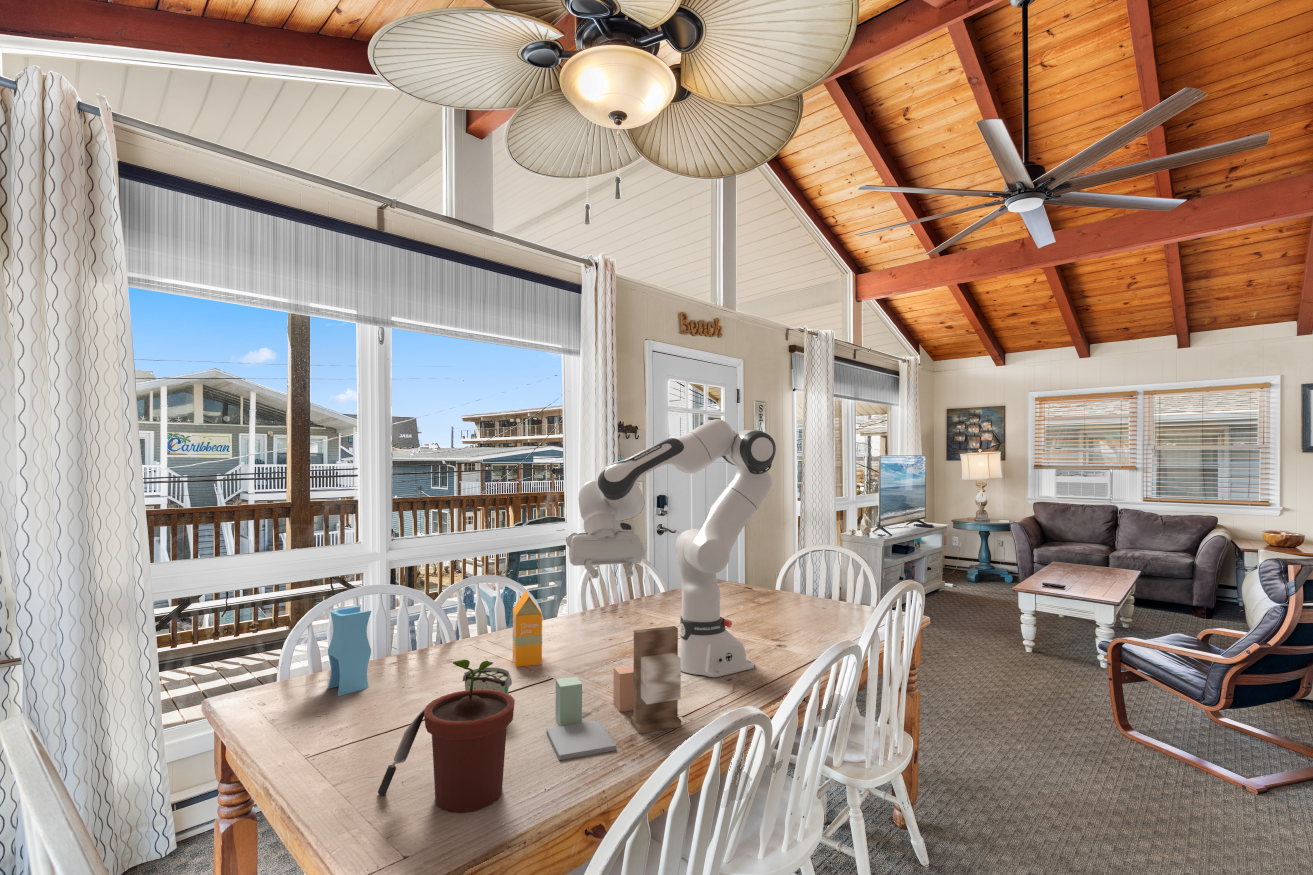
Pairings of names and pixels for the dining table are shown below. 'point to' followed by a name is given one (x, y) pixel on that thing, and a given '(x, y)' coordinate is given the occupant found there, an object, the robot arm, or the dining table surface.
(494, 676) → the food container
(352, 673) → the vase
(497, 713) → the potted plant
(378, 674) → the dining table surface
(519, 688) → the dining table surface
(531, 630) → the orange juice
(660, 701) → the wall stand
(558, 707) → the green block
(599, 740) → the grey board
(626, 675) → the terracotta block
